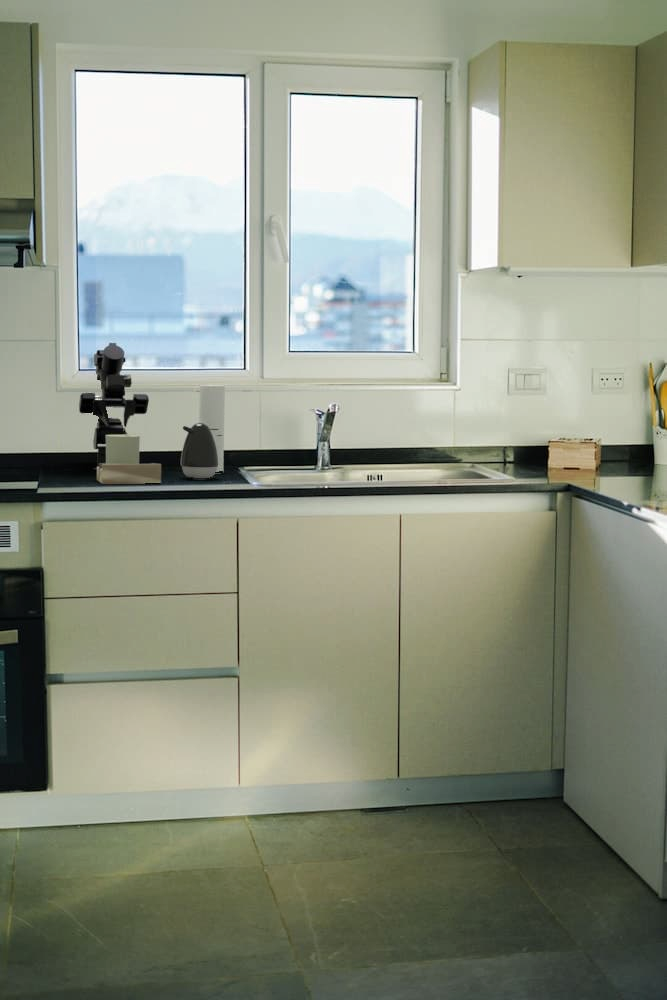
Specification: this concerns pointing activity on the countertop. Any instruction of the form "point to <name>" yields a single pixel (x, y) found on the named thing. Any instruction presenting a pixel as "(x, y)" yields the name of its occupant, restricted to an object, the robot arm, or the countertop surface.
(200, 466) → the pump dispenser
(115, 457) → the can
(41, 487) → the countertop surface
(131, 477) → the frame
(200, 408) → the cylindrical container
